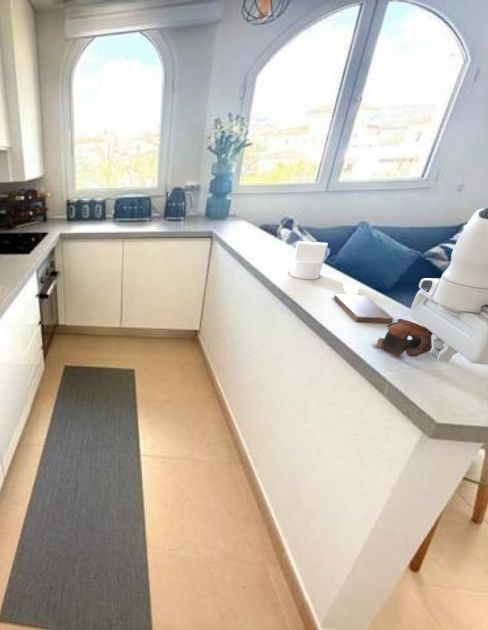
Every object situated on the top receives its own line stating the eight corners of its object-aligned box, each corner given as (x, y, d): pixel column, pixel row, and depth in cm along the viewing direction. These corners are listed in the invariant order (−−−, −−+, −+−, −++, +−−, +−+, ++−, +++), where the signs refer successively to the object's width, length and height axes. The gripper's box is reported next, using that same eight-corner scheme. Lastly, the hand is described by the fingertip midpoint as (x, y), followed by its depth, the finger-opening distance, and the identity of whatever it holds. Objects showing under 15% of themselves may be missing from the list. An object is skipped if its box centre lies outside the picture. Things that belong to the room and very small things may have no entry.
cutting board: (364, 299, 105) (365, 295, 105) (391, 323, 92) (393, 318, 91) (333, 298, 108) (334, 294, 107) (355, 321, 94) (357, 316, 93)
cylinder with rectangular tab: (319, 272, 128) (327, 241, 123) (319, 280, 121) (327, 247, 116) (291, 269, 133) (298, 239, 127) (289, 277, 126) (296, 245, 121)
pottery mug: (363, 341, 86) (386, 312, 84) (400, 359, 85) (423, 331, 83) (397, 355, 74) (424, 323, 72) (440, 377, 73) (469, 345, 71)
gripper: (542, 321, 54) (499, 392, 60) (453, 277, 71) (427, 335, 77) (489, 319, 56) (453, 387, 62) (415, 276, 73) (393, 333, 79)
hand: (438, 358), depth 70 cm, fingers closed
